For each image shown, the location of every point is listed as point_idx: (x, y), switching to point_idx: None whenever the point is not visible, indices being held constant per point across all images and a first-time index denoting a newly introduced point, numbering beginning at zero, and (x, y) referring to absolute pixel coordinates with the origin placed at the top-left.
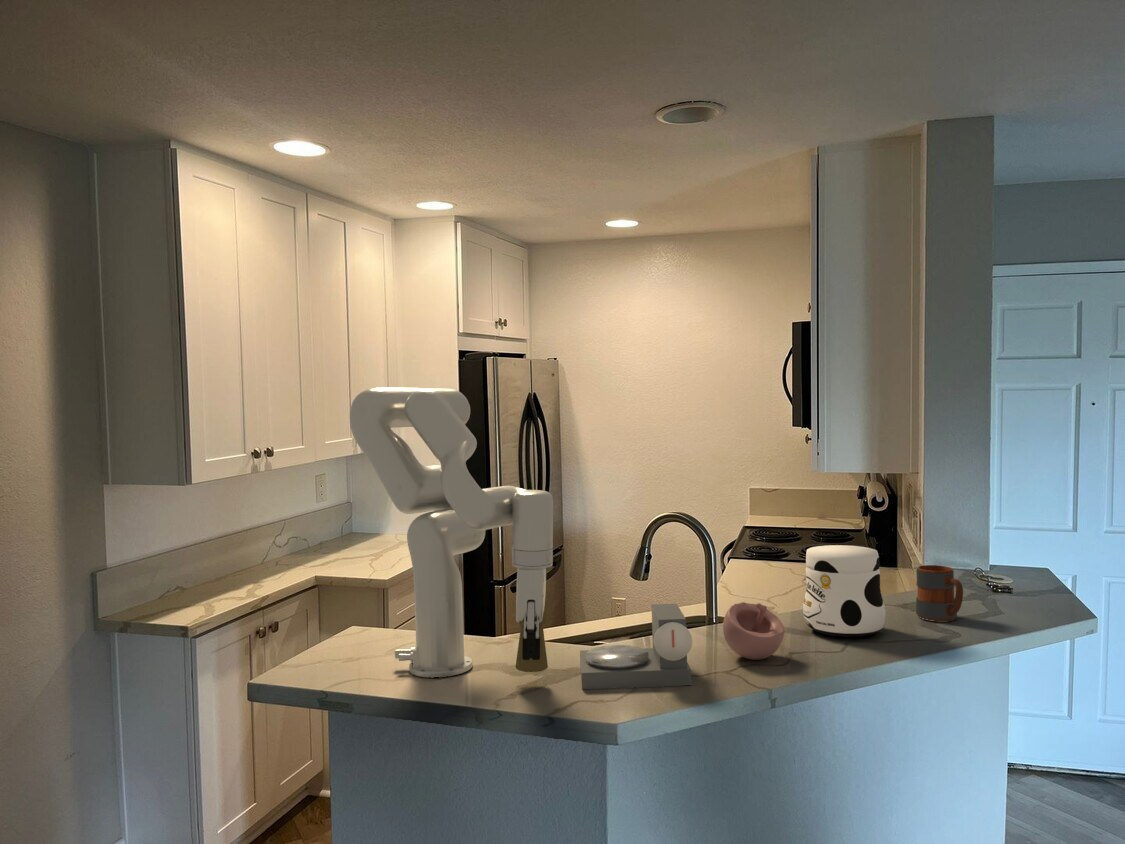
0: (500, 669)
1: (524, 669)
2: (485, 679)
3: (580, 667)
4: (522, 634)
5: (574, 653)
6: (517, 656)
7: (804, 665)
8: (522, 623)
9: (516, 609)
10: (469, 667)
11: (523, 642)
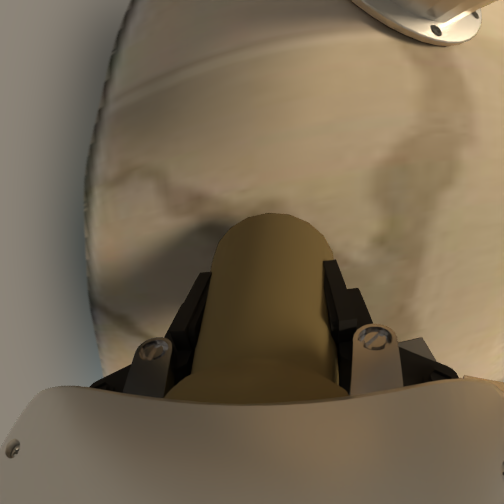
0: (426, 126)
1: (213, 259)
2: (333, 86)
3: (400, 344)
4: (208, 334)
5: (494, 307)
6: (242, 241)
7: None
8: (166, 395)
9: (18, 454)
10: (409, 34)
11: (178, 319)
